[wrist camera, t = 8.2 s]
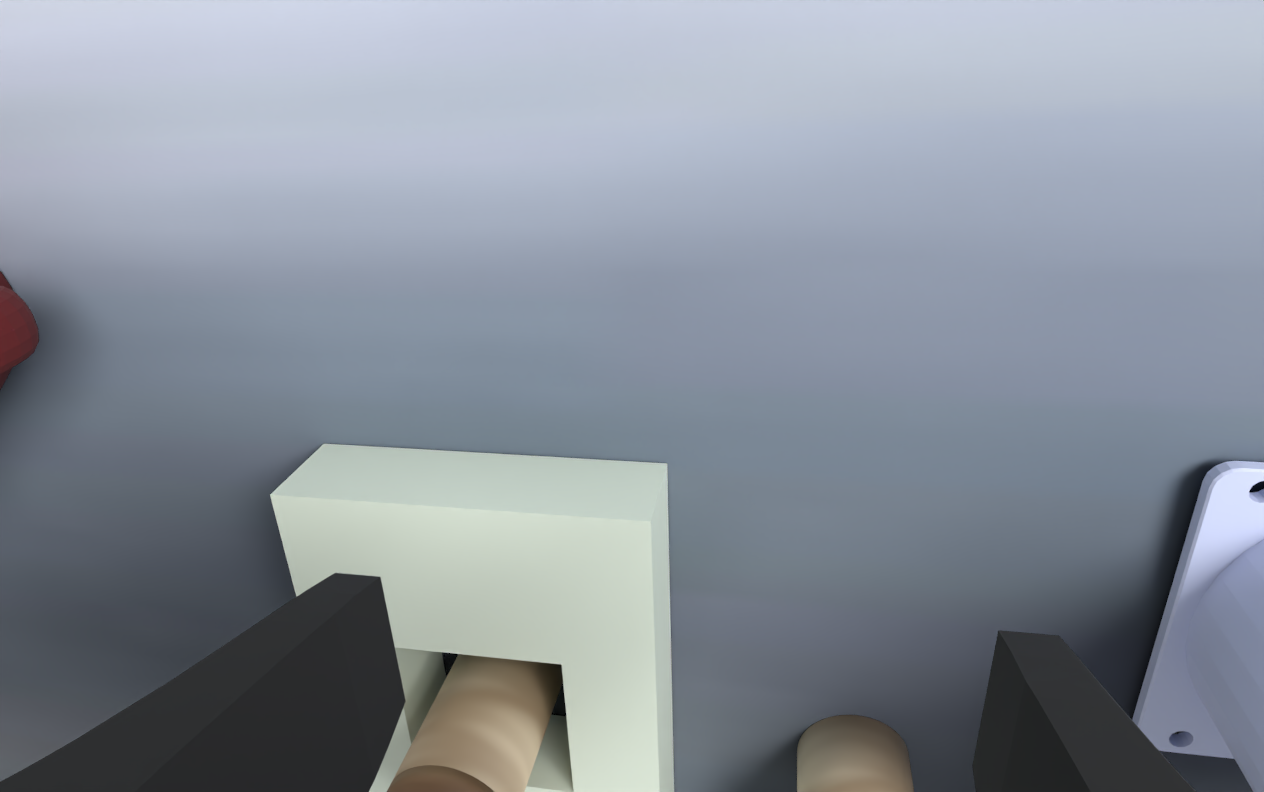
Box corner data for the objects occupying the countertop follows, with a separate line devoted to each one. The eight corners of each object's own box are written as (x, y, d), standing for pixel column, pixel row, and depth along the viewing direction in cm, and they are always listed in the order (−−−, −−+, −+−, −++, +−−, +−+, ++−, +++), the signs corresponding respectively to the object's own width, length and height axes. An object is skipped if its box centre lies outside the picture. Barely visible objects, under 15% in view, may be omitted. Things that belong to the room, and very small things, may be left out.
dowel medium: (572, 635, 23) (510, 806, 18) (558, 711, 24) (497, 890, 20) (468, 607, 23) (380, 768, 19) (460, 684, 25) (376, 854, 20)
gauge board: (667, 463, 20) (651, 521, 18) (674, 831, 26) (662, 910, 24) (324, 443, 22) (269, 495, 20) (401, 794, 27) (365, 865, 25)
